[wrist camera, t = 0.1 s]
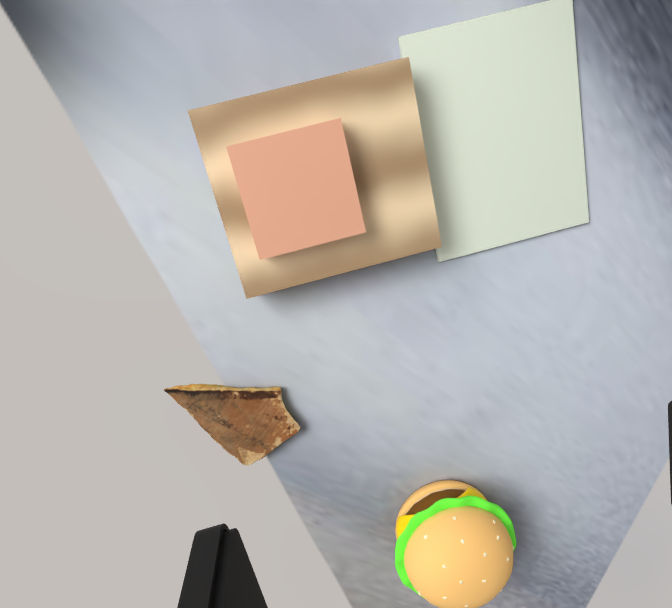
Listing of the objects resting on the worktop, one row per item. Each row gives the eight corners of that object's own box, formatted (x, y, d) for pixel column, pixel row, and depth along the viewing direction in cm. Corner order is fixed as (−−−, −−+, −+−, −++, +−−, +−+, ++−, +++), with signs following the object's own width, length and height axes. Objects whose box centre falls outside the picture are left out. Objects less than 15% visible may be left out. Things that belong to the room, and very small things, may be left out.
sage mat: (397, 38, 35) (399, 36, 35) (568, -4, 36) (572, -5, 36) (437, 261, 41) (439, 262, 40) (586, 221, 41) (589, 222, 41)
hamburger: (368, 495, 46) (387, 564, 38) (477, 449, 47) (519, 509, 38) (405, 578, 50) (430, 658, 42) (507, 536, 50) (552, 607, 42)
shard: (167, 382, 41) (162, 391, 39) (233, 331, 41) (231, 338, 39) (246, 461, 44) (245, 472, 43) (308, 414, 44) (310, 424, 42)
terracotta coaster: (228, 147, 33) (226, 146, 31) (337, 121, 33) (340, 117, 31) (260, 255, 35) (259, 260, 33) (361, 229, 35) (366, 232, 34)
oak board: (196, 116, 35) (187, 110, 32) (396, 67, 36) (408, 56, 33) (249, 288, 39) (246, 298, 36) (428, 240, 40) (441, 246, 37)
